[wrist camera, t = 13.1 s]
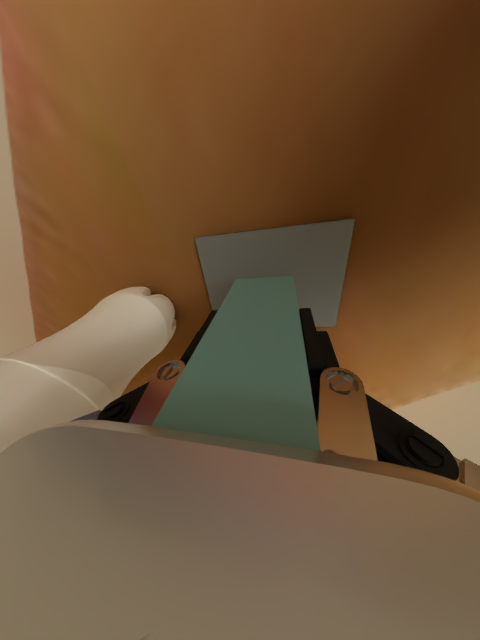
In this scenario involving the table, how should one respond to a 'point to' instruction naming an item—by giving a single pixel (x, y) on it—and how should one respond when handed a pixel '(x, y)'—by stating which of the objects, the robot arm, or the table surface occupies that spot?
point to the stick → (248, 371)
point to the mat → (282, 262)
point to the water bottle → (82, 363)
